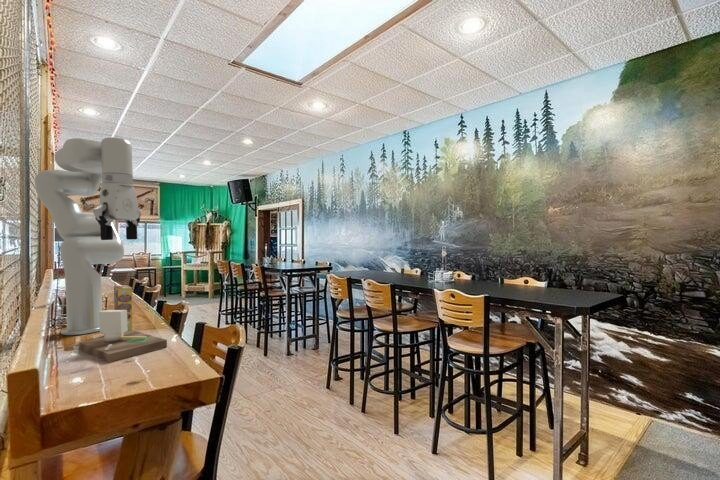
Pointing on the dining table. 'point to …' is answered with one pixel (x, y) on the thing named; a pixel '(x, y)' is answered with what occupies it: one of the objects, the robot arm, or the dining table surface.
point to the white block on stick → (115, 325)
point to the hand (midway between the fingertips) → (119, 239)
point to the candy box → (124, 302)
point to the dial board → (122, 346)
